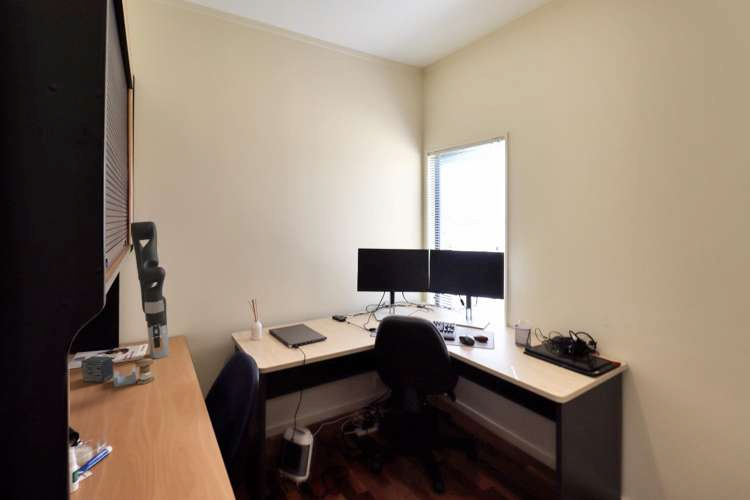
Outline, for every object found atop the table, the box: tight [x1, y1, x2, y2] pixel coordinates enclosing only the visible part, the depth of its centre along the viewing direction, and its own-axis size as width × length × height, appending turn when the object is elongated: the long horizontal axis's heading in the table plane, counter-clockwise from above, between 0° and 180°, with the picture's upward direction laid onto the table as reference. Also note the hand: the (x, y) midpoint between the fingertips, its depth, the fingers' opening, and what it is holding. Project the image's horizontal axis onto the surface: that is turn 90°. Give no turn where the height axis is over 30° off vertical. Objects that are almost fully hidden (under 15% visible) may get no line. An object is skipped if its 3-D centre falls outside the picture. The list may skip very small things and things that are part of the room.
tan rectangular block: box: [152, 336, 163, 352], centre depth 166 cm, size 3×4×6 cm
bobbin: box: [135, 357, 155, 385], centre depth 169 cm, size 7×7×10 cm
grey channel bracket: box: [112, 366, 137, 388], centre depth 168 cm, size 8×8×4 cm
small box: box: [81, 355, 114, 384], centre depth 170 cm, size 11×6×10 cm, turn 84°
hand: (157, 346), depth 166 cm, fingers closed on tan rectangular block, 2 cm apart
